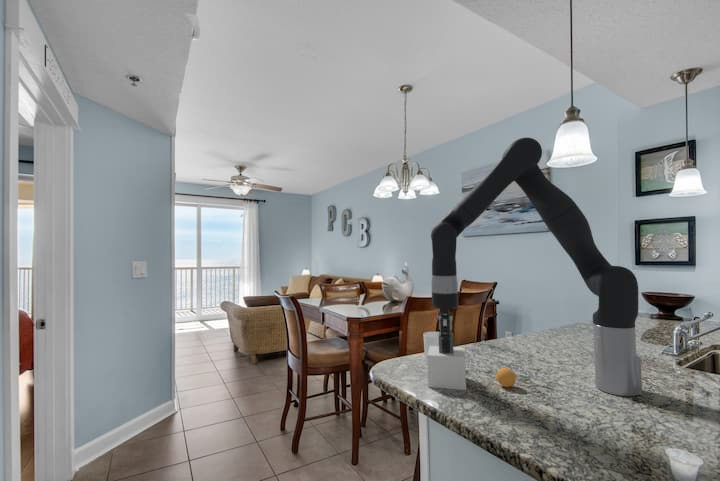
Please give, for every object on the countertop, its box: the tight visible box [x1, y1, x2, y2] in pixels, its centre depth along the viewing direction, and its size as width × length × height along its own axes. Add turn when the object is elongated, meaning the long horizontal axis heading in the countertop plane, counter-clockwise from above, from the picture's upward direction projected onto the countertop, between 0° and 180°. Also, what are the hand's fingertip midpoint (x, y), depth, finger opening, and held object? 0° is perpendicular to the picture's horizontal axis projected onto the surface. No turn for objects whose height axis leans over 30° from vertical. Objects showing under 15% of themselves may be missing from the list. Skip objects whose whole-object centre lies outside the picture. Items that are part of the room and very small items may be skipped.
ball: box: [495, 367, 517, 388], centre depth 96 cm, size 5×5×5 cm
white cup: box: [422, 331, 440, 366], centre depth 116 cm, size 8×8×10 cm
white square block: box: [427, 331, 467, 391], centre depth 100 cm, size 10×10×14 cm
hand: (446, 349), depth 100 cm, fingers closed on white square block, 4 cm apart
